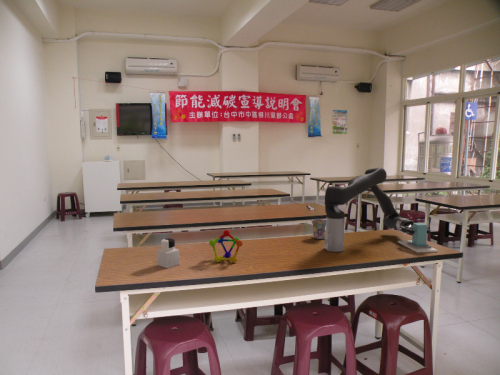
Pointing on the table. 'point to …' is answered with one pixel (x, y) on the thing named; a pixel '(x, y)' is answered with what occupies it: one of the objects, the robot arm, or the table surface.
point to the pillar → (419, 234)
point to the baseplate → (417, 248)
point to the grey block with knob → (168, 254)
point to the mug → (318, 228)
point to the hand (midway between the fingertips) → (421, 232)
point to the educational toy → (227, 254)
